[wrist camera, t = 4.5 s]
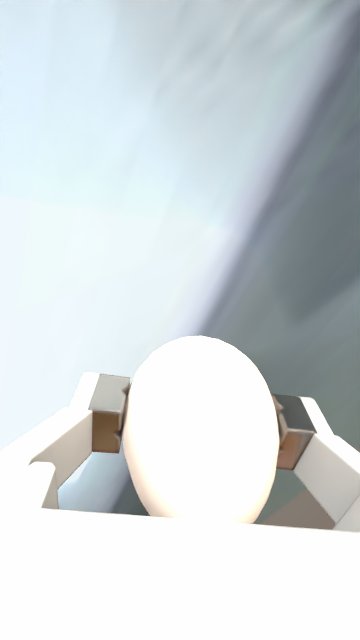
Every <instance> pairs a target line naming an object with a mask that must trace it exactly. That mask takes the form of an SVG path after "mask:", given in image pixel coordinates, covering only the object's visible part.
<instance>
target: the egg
mask: <svg viewBox="0 0 360 640" xmlns="http://www.w3.org/2000/svg"><path fill="white" fill-rule="evenodd" d="M122 434H123V451H124V454H125V457H126V461H127V464H128V468H129V471H130V475H131V478H132V481H133V484H134V487H135V489H136V492H137V494H138V496H139V498H140V500H141V502H142V504H143V505H144V507H145V508H146V510H147V511H148V513H149V515H150V516H152V517H165V518H178V519H192V520H205V521H218V522H231V523H244V524H252V523H253V522H254V521H255V520H256V519H257V518H258V516H259V514H260V512H261V510H262V508H263V507H264V505H265V503H266V501H267V499H268V496H269V493H270V490H271V487H272V484H273V481H274V478H275V471H276V464H277V457H278V449H279V433H278V424H277V416H276V411H275V407H274V403H273V400H272V397H271V394H270V392H269V389H268V387H267V384H266V382H265V380H264V378H263V377H262V375H261V374H260V372H259V370H258V369H257V367H256V366H255V365H254V364H253V363H252V362H251V361H250V360H249V358H248V357H247V356H245V355H244V354H243V353H241V352H240V351H239V350H237V349H236V348H235V347H234V346H231V345H229V344H227V343H225V342H223V341H221V340H218V339H214V338H209V337H204V336H192V337H183V338H180V339H177V340H174V341H172V342H169V343H167V344H165V345H164V346H162V347H161V348H159V349H158V350H156V351H155V352H153V353H152V354H151V355H150V356H149V358H148V359H147V360H146V361H145V362H144V363H143V364H142V365H141V367H140V368H139V369H138V371H137V373H136V374H135V376H134V378H133V381H132V383H131V385H130V387H129V390H128V395H127V399H126V402H125V411H124V417H123V422H122Z"/></svg>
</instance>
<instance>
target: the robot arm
mask: <svg viewBox="0 0 360 640" xmlns="http://www.w3.org/2000/svg"><path fill="white" fill-rule="evenodd" d="M129 387H130V378H129V377H121V376H114V375H107V374H97V373H90V372H85V373H84V374H83V375H82V378H81V380H80V382H79V385H78V387H77V390H76V392H75V394H74V397H73V399H72V402H71V404H70V406H69V408H63V409H61V410H60V411H58V412H57V413H56V414H54V415H53V416H51V417H50V418H48V419H47V420H45V421H44V422H42V423H41V424H39V425H38V426H37V427H35V428H34V429H32V430H31V431H29V432H28V433H26V434H25V435H23V436H22V437H20V438H19V439H18V440H16V441H15V442H13V443H12V444H10V445H9V446H7V447H6V448H4V449H3V450H2V451H0V640H360V453H359V452H358V451H356V450H355V449H354V448H353V447H351V446H350V445H349V444H348V443H346V442H345V441H344V440H343V439H341V438H340V437H339V436H334V435H333V433H332V431H331V429H330V427H329V425H328V424H327V422H326V420H325V418H324V416H323V415H322V413H321V411H320V409H319V407H318V406H317V404H316V402H315V400H314V399H312V398H309V397H296V396H287V395H277V394H271V397H272V400H273V403H274V407H275V411H276V416H277V424H278V433H279V449H278V457H277V464H276V468H278V469H286V470H294V471H293V472H294V473H295V475H296V476H297V477H298V478H299V480H300V481H301V482H302V483H303V484H304V486H305V487H306V488H307V489H308V490H309V492H310V493H311V494H312V495H313V496H314V497H315V499H316V500H317V501H318V503H319V504H320V505H321V506H322V507H323V509H324V510H325V511H326V512H327V513H328V514H329V516H330V517H331V518H332V519H333V521H334V522H335V523H336V525H335V526H334V527H333V529H332V530H323V529H310V528H297V527H284V526H270V525H257V524H244V523H231V522H218V521H205V520H192V519H178V518H165V517H152V516H139V515H126V514H113V513H100V512H87V511H73V510H60V509H59V507H58V493H57V489H58V488H59V487H60V486H61V485H62V484H63V483H64V482H65V481H66V480H67V479H68V478H69V477H70V476H71V475H72V474H73V473H74V471H75V470H76V469H77V468H78V467H79V466H80V465H81V464H82V463H83V462H84V461H85V460H86V459H87V458H88V457H89V456H90V454H91V453H92V452H105V453H119V450H120V445H121V440H122V422H123V417H124V411H125V402H126V399H127V395H128V390H129Z"/></svg>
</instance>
